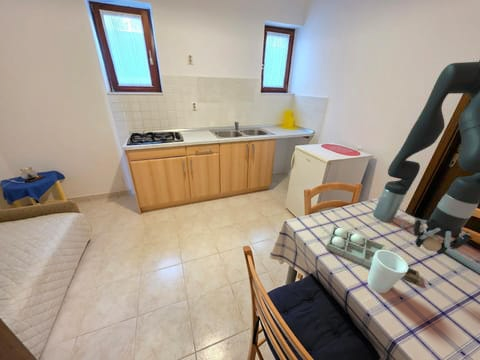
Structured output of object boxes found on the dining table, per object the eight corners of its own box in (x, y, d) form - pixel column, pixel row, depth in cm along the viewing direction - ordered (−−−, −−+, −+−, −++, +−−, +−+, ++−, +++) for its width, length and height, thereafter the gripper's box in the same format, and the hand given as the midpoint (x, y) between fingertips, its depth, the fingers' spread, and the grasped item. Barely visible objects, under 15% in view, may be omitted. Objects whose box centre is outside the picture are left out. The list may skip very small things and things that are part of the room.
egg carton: (332, 230, 97) (333, 226, 96) (382, 250, 87) (384, 245, 86) (325, 249, 87) (327, 244, 85) (381, 273, 77) (384, 268, 75)
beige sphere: (417, 241, 72) (424, 231, 70) (435, 247, 70) (443, 236, 67) (419, 250, 68) (426, 239, 66) (438, 256, 66) (446, 246, 63)
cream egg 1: (334, 232, 95) (337, 224, 93) (345, 236, 93) (348, 228, 91) (332, 238, 92) (335, 230, 89) (344, 243, 89) (347, 234, 87)
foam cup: (378, 300, 67) (393, 275, 61) (357, 276, 75) (368, 252, 69) (399, 293, 70) (415, 268, 64) (376, 271, 77) (389, 247, 71)
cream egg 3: (349, 238, 92) (353, 230, 90) (361, 242, 90) (365, 234, 88) (348, 244, 88) (351, 236, 86) (360, 249, 86) (364, 241, 84)
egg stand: (401, 268, 79) (403, 265, 78) (416, 275, 76) (418, 271, 76) (402, 277, 75) (404, 274, 74) (417, 284, 73) (420, 281, 72)
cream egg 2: (331, 240, 90) (334, 232, 88) (343, 245, 88) (346, 237, 86) (329, 247, 87) (332, 239, 84) (341, 252, 84) (344, 244, 82)
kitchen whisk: (491, 285, 74) (502, 274, 71) (395, 229, 100) (400, 219, 98) (497, 279, 76) (508, 268, 73) (402, 226, 103) (407, 216, 100)
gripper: (482, 211, 60) (452, 251, 68) (422, 196, 67) (401, 234, 75) (492, 225, 55) (458, 266, 63) (426, 207, 62) (403, 246, 70)
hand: (427, 248), depth 69 cm, fingers closed on beige sphere, 5 cm apart
